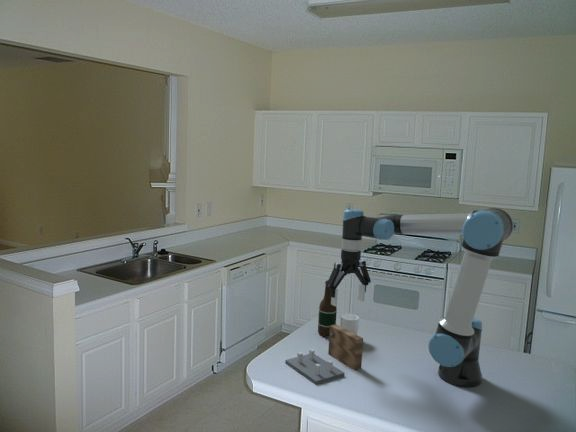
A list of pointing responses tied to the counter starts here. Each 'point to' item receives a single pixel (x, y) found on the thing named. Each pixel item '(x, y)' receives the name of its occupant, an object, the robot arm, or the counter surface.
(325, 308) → the beer bottle
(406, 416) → the counter surface
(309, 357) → the board
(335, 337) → the brown wooden board
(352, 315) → the white cup
